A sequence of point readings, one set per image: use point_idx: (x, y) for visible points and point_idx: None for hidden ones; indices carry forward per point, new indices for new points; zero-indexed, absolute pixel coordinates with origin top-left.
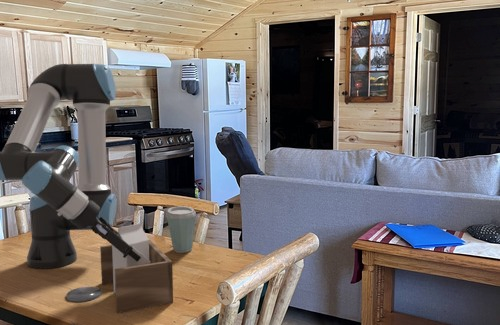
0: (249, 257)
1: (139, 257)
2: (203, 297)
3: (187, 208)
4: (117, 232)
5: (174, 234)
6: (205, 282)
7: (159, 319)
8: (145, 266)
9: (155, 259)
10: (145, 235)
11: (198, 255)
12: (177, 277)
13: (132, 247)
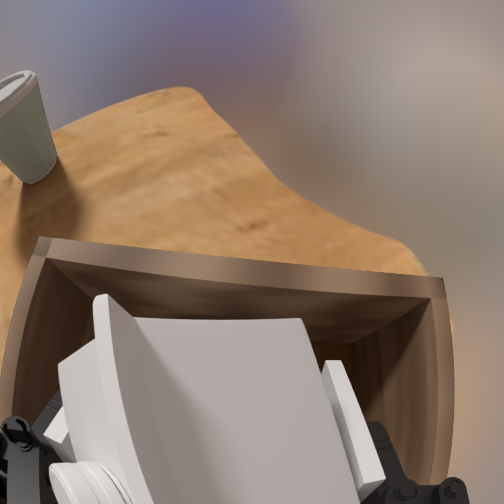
0: (182, 93)
1: (383, 431)
2: (362, 248)
3: (6, 81)
4: (9, 485)
5: (17, 151)
6: (266, 200)
7: None
8: (452, 406)
9: (217, 302)
10: (262, 329)
11: (89, 150)
12: (181, 243)
13: (371, 483)
